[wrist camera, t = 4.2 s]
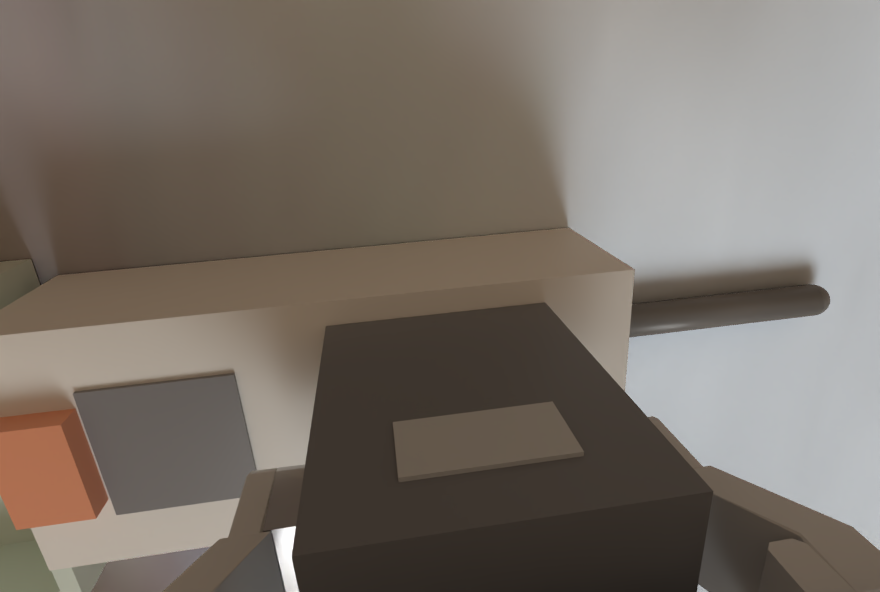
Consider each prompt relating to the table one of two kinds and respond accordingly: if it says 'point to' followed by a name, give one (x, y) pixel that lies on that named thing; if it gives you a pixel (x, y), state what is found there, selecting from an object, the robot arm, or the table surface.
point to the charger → (488, 465)
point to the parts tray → (3, 547)
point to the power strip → (260, 369)
